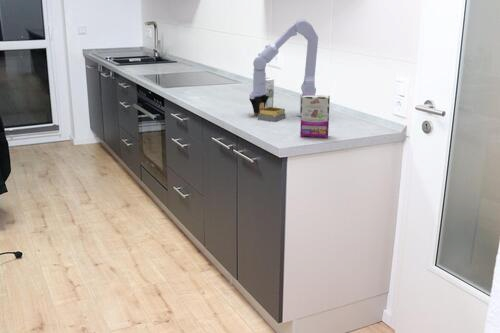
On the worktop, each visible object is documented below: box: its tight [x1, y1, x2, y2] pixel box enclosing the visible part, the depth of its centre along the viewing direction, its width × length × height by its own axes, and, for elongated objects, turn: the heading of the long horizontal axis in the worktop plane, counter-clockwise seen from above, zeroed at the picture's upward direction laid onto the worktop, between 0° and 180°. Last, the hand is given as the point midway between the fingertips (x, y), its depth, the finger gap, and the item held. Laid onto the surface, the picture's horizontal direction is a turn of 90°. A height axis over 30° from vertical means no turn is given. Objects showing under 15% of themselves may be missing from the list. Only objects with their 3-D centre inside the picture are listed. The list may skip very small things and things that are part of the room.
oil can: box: [253, 102, 264, 117], centre depth 264 cm, size 5×5×7 cm
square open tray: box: [257, 106, 287, 123], centre depth 257 cm, size 9×10×4 cm
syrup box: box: [265, 77, 275, 108], centre depth 280 cm, size 6×6×14 cm
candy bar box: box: [299, 94, 331, 139], centre depth 225 cm, size 11×5×16 cm, turn 80°
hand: (259, 111), depth 265 cm, fingers closed on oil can, 5 cm apart
